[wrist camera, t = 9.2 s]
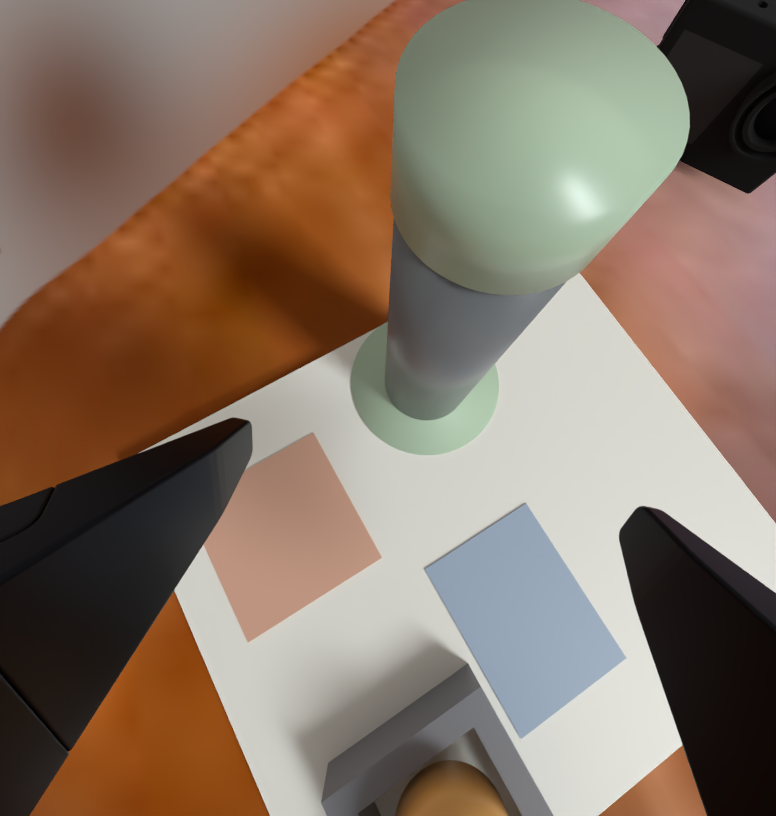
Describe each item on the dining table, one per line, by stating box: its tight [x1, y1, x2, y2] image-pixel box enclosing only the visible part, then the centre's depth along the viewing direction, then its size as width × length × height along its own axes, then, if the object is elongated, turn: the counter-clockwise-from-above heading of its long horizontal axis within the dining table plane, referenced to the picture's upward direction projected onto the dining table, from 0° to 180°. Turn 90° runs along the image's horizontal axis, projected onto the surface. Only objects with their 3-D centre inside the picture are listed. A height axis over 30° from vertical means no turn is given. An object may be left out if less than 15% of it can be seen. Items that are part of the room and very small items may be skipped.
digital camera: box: [657, 0, 776, 193], centre depth 21 cm, size 10×5×7 cm, turn 58°
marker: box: [385, 0, 690, 420], centre depth 12 cm, size 5×5×14 cm
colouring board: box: [140, 273, 776, 816], centre depth 18 cm, size 27×24×1 cm
